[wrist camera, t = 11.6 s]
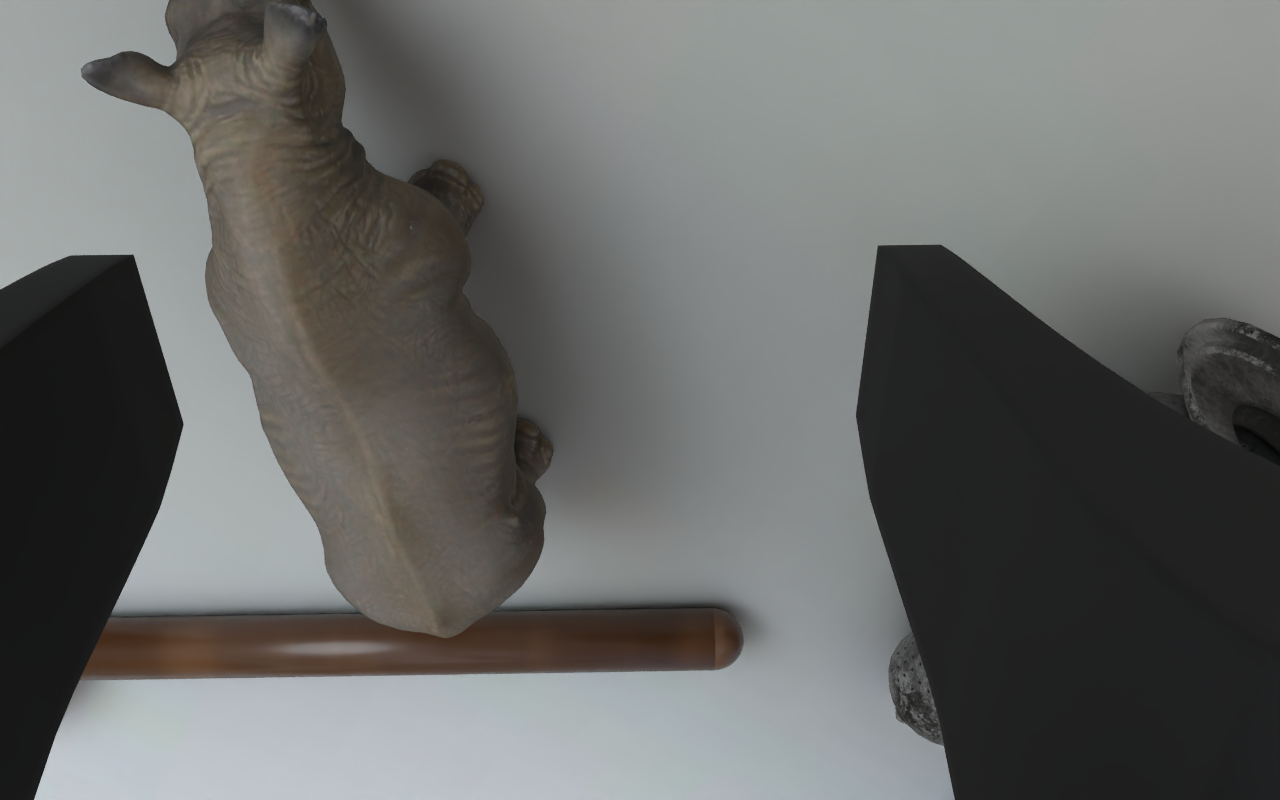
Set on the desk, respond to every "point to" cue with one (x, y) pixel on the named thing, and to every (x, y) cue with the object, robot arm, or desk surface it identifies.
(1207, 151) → the desk surface
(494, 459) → the rhino figurine
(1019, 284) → the desk surface
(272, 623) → the brown long-handled part
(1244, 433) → the grey weathered turned ornament
